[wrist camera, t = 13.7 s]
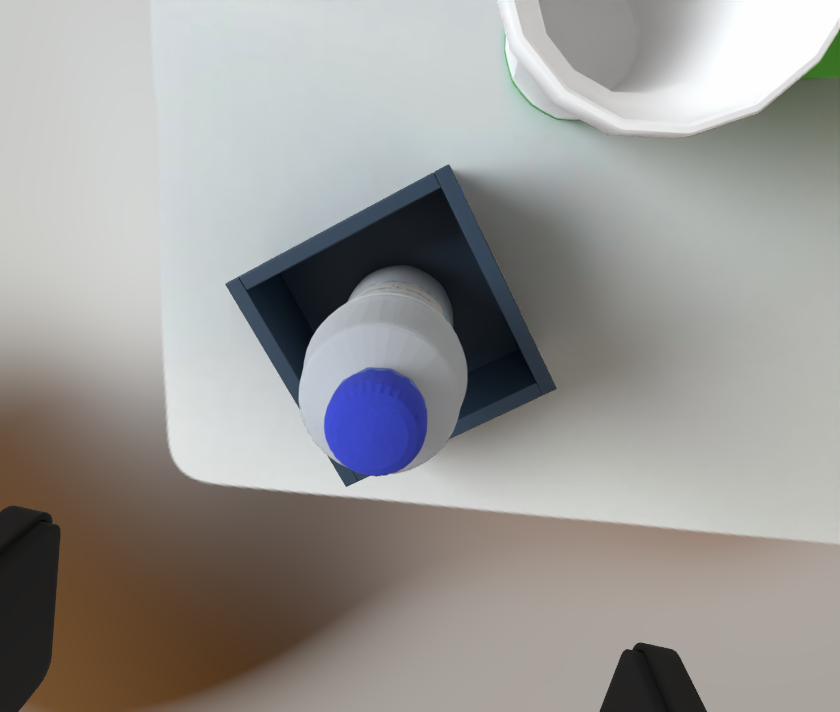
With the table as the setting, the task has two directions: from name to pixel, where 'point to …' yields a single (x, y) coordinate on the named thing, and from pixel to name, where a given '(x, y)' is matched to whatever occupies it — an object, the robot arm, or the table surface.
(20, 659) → the robot arm
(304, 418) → the bottle
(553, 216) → the table surface
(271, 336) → the bin
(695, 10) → the cup
